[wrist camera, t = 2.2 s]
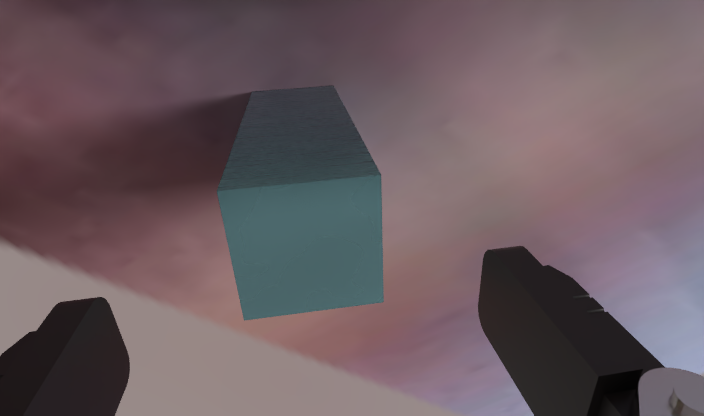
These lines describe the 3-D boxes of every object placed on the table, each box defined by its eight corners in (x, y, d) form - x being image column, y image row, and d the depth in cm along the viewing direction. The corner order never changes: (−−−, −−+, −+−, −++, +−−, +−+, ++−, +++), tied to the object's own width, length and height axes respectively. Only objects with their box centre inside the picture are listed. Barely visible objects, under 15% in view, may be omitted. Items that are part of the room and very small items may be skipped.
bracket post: (333, 85, 21) (380, 175, 11) (338, 161, 23) (383, 302, 12) (252, 91, 21) (216, 191, 10) (263, 168, 23) (244, 320, 12)
